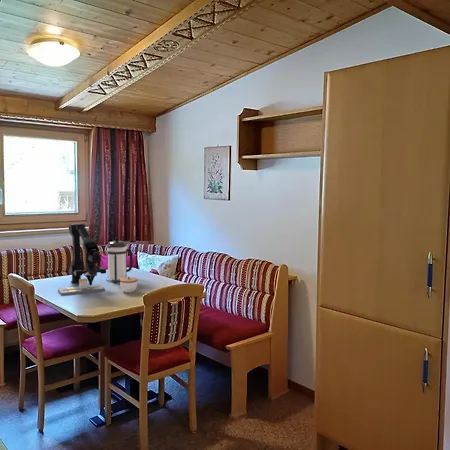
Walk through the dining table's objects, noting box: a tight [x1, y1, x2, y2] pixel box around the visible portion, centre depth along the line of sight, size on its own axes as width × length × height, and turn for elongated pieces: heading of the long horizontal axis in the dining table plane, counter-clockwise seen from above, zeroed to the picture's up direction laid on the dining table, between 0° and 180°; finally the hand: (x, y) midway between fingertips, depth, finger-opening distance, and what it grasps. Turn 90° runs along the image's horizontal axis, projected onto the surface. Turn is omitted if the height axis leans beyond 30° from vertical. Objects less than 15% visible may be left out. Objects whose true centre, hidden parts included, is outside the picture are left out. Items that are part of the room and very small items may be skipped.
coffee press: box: [106, 237, 134, 284], centre depth 313 cm, size 17×16×30 cm
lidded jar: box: [119, 276, 139, 293], centre depth 285 cm, size 11×11×9 cm
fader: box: [78, 278, 88, 289], centre depth 285 cm, size 4×4×5 cm
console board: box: [57, 283, 106, 296], centre depth 285 cm, size 12×26×2 cm, turn 120°
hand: (90, 285), depth 287 cm, fingers closed
